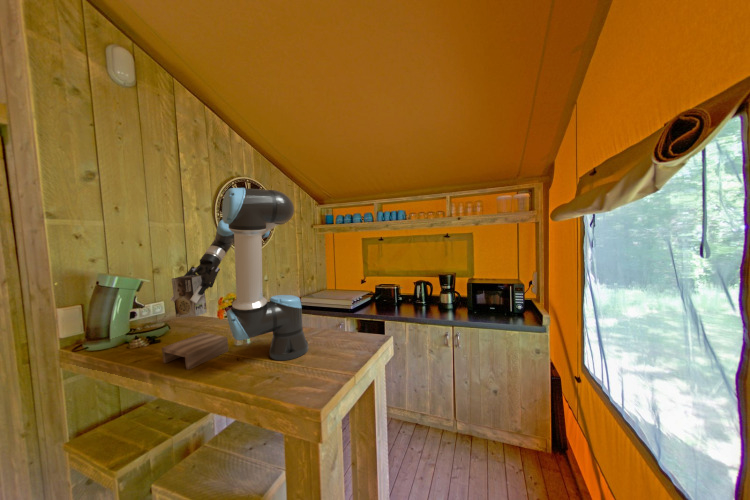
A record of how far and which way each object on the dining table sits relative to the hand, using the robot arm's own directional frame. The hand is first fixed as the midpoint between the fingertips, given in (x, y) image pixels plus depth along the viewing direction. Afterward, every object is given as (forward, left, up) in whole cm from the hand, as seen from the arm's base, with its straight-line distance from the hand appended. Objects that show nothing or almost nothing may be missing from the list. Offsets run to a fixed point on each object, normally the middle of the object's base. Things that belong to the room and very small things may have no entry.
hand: (183, 301), depth 104 cm
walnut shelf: (-3, -2, -23) cm, 23 cm away
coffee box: (0, -3, -7) cm, 7 cm away
